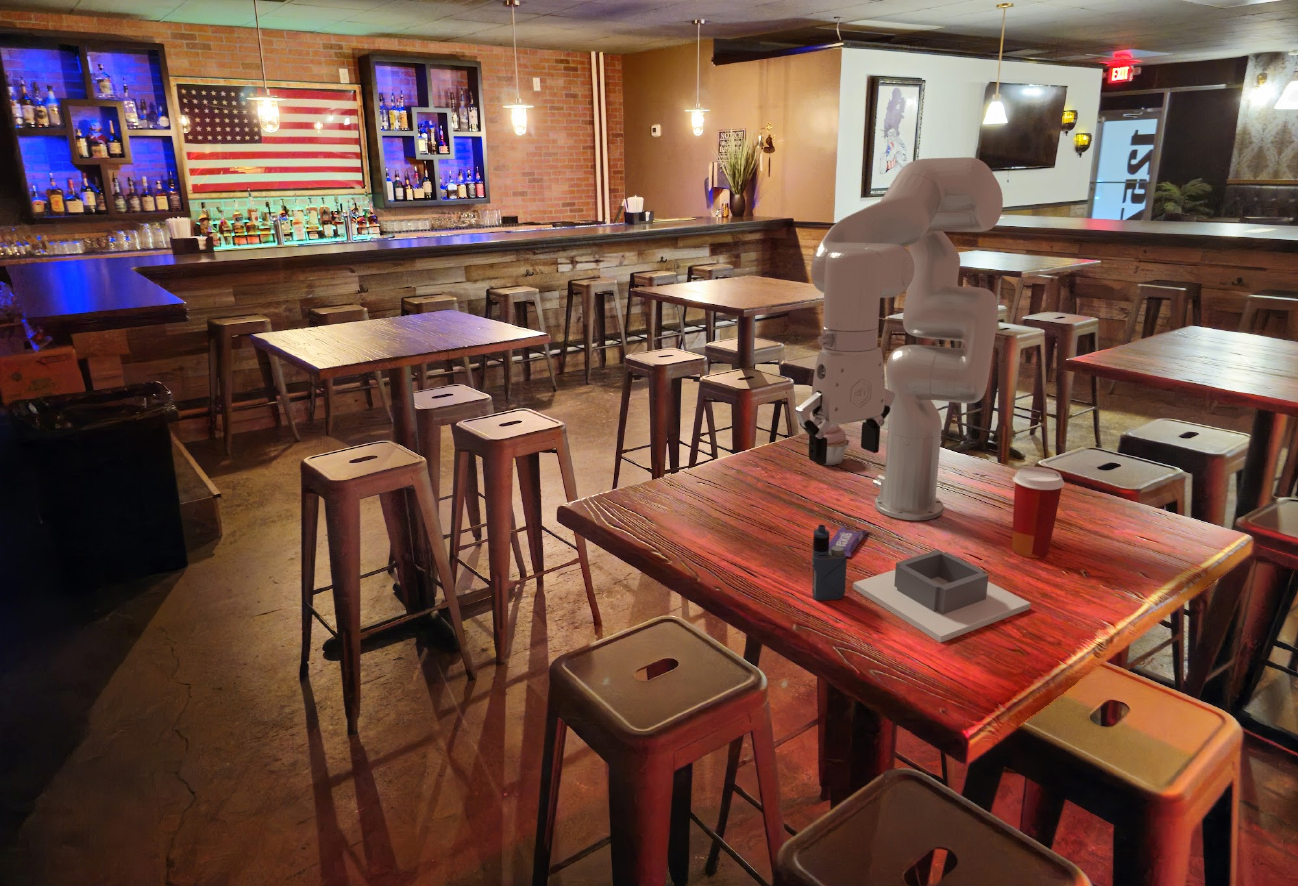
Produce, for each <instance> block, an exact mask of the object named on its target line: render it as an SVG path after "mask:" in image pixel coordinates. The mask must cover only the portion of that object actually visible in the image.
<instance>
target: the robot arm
mask: <svg viewBox="0 0 1298 886" xmlns="http://www.w3.org/2000/svg"><path fill="white" fill-rule="evenodd" d="M1003 206H1004V199H1003V192H1002V188H1001V186H1000V183H999V181H998V180H997V178H996V176H995V175H994V172H993V171H992V169H991V168H990V167H989V166H988V165H987V164H986V163H985V162H984V161H982V160H980V159H979V158H976V157H970V156H969V157H968V156H967V157H965V156H964V157H936V158H934V157H932V158H919V159H916V160H913V161H910V162H908V163H907V164H905V165H904V166H903V167H902V168H901V169H900V170H899V172H898V173H897V175H896V176H895V178H894V180H892V182H891V184H890V186H889V187H888V189H887V190H886V192H885V193H884V195H883V197H881V199H880V201H878V202H876V203H873V204H871V205H869V206H866V207H864V208H862V209H859V210H858V211H856V212H854V213H852V214H850V215H848V216H845V217H844V218H842V219H840V220H839V221H838V222H836V223H835V224H834V225H832V226H831V227H830V229H829V230H828V231H827V232H826V234H825V236H824V237H823V238H822V240H821V242H820V243H819V244H818V246H817V248H816V250H815V251H814V254H813V257H812V261H811V265H810V277H811V282H812V283H813V285H814V287H815V288H816V290H818V291H820V292H821V293H823V310H822V311H823V314H822V333H821V334H822V335H819V336H818V337H817V344H818V345H819V346H821V350H820V349H819V351H818V354H817V357H816V362H815V367H814V371H813V372H814V373H813V380H812V390H811V396H810V397H808V399H806V400H805V401H804V402H802V403H801V404H800V405H798V406H797V407H796V408H795V410H794V413H795V416H796V417H797V420H798V421H799V426H800V427H801V428H802V429H803V430H804V432H805V433H806V434H807V435H808V437H809V438H808V440H809V444H808V459H809V460H810V461H812V462H814V463H816V464H817V465H818V464H819V465H821V466H825V465H824V464H826V459H827V438H825V437H823V436H824V435H825V433H826V432H827V430H828V429H829V427H830V426H831V424H834V425H839V426H841V425H845V424H846V425H847V424H850V423H852V424H853V423H855V422H856V423H857V422H862V421H863V422H862V424H861V437H860V448H861V449H863V450H865V451H868V452H871V453H874V454H877V453H879V451H880V439H881V438H880V437H881V427H884V424H885V419H886V418H887V416H888V422H887V434H886V435H887V436H886V437H887V438H886V453H885V468H884V469H885V470H884V473H880V474H878V475H877V478H875V479H874V480H873V481H872V486H873V487H875V488H878V489H879V493H880V494H878V495H877V496H876V497H875V499H874V508H876V510H878V511H879V512H880V513H881V514H883V515H885V516H887V517H888V516H889V517H891V518H894V519H898V520H904V521H926V520H932V519H936V518H938V517H939V516H941V515H942V514H943V512H944V507H945V506H944V503H943V502H942V501H941V499H939V498H938V497H937V486H938V484H937V483H938V474H939V463H940V452H941V451H940V450H941V441H942V439H941V437H942V428H943V426H942V425H943V423H942V418H941V415H940V413H939V410H938V408H937V407H936V406H935V404H934V403H933V401H941V402H950V403H960V404H974V403H975V404H976V403H977V402H979V401H981V400H982V399H983V398H984V396H985V394H986V391H987V388H988V383H989V379H990V378H989V377H990V373H991V372H990V371H991V365H992V360H993V352H994V351H993V350H994V347H995V345H994V344H995V338H996V332H997V327H998V326H997V324H998V323H997V322H998V318H999V317H998V314H999V311H998V310H999V309H998V301H997V297H996V295H995V294H994V293H993V291H992V290H990V289H987V288H985V287H981V286H980V287H979V286H977V287H976V286H959V285H958V284H959V283H958V281H959V280H958V279H959V275H960V274H959V272H960V266H961V257H960V254H959V252H958V250H957V249H956V246H955V245H954V244H953V242H952V240H951V239H950V238H949V237H948V236H947V234H946V233H945V232H959V233H961V232H962V233H963V232H965V233H966V232H967V233H970V232H971V233H972V232H974V233H982V232H983V233H984V232H987V231H990V230H991V229H993V228H994V227H995V226H996V225H997V223H998V222H999V220H1000V218H1001V215H1002V213H1003ZM906 247H908V249H907V248H906ZM904 292H906V293H905V296H904V297H905V299H904V305H903V306H904V307H903V311H902V327H903V328H904V330H905V332H906V333H907V334H908V335H909V336H913V337H917V338H924V339H934V340H944V341H945V340H947V341H956V342H957V341H958V342H962V343H963V344H964V348H957V347H945V346H939V345H937V346H936V345H924V344H907V345H902V346H899V347H897V348H895V349H894V350H893V351H892V352H891V353H890V354H889V356H888V358H887V361H886V365H885V364H884V363H885V362H884V357H883V351H882V348H881V347H878V342H879V341H878V339H879V324H880V322H879V321H880V306H881V298H887V299H888V298H894V297H897V296H899V295H901V294H903V293H904ZM885 366H886V367H885ZM885 368H886V369H885ZM885 375H886V376H885ZM885 377H886V379H885ZM886 384H887V388H886ZM810 415H812V418H811V416H810ZM820 424H821V425H820ZM819 425H820V426H819ZM818 426H819V428H818Z"/></svg>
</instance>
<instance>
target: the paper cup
mask: <svg viewBox="0 0 1298 886" xmlns="http://www.w3.org/2000/svg"><path fill="white" fill-rule="evenodd" d="M1011 479H1012V481H1013V483H1014V497H1013V515H1012V537H1011V548H1012V549H1011V550H1012V552H1014V553H1015V554H1017V555H1018V556H1021V557H1025V558H1029V559H1043V558H1045V557H1046V556H1048V554H1049V550H1050V547H1051V546H1050V545H1051V541H1052V537H1053V532H1054V527H1055V523H1056V519H1057V512H1058V509H1059V503H1060V498H1061V494H1062V493H1061V492H1062V488H1063V487H1064V486H1065V485H1066V484H1065V481H1064V480H1063V476H1062V475H1061V473H1060V472H1059V471H1057V470H1054V469H1051V468H1047V467H1042V466H1041V467H1040V466H1026V467H1022V468H1019V469H1018V470H1017V471H1016V472H1015V473H1014V476H1013V477H1012V478H1011Z"/></svg>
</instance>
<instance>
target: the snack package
mask: <svg viewBox="0 0 1298 886" xmlns="http://www.w3.org/2000/svg"><path fill="white" fill-rule="evenodd" d="M868 533H869V530H865V529H860V528H859V529H858V528H854V527H850V526H849V527H847V526H841V527H840V528H839V529H838V531H836V533H835V534H834V536H833V537H832V538H831V539H829V551H831V547H832V546H835V545H838V546H842V547H844V553H845V556H846V557H847V558H849V557H851V556H852V554H853V552H854V551H855V550H856V548H857V547H858V546H859V544H860V542H861V541H862V540H863V539H864V537H865V536H866V535H867V534H868Z"/></svg>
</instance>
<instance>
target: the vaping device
mask: <svg viewBox="0 0 1298 886" xmlns="http://www.w3.org/2000/svg"><path fill="white" fill-rule="evenodd" d="M812 538H813V541H812V545H813V546H812V559H811V567H812V568H813V569H812V599H814V600H815V601H823V602H824V601H835V600H841V599H844V596H845V593H846V585H847V584H846V582H847V581H846V579H847V563H848V562H847V561H848V560H847V559H848V558H847V556H845V553H844V547H842V546H838V545H835V546H832V547H831V551H829V542H830V531H829V530H828V529H827V528H826V525H825V524H818V526H817V528H815V529H814V530H813V537H812Z"/></svg>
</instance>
